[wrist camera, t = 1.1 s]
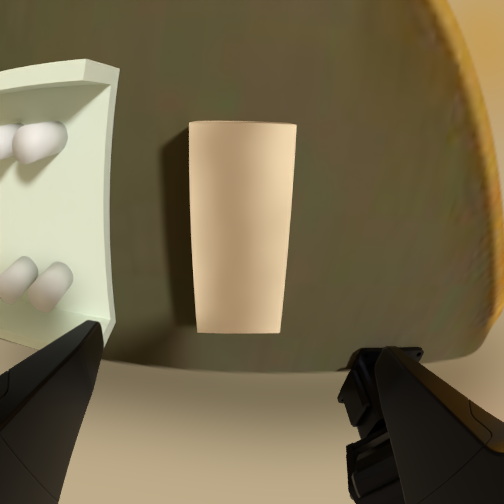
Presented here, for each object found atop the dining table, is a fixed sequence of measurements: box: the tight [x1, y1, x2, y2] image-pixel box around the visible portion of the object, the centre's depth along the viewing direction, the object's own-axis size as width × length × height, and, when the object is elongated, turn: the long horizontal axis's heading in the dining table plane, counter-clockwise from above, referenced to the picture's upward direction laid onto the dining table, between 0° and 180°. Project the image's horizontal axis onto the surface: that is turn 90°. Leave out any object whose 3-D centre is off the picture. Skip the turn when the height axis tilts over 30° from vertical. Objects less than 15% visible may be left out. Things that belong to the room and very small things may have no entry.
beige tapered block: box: [189, 121, 296, 333], centre depth 18 cm, size 5×12×3 cm, turn 178°
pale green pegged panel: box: [0, 59, 120, 350], centre depth 15 cm, size 10×17×4 cm, turn 171°
